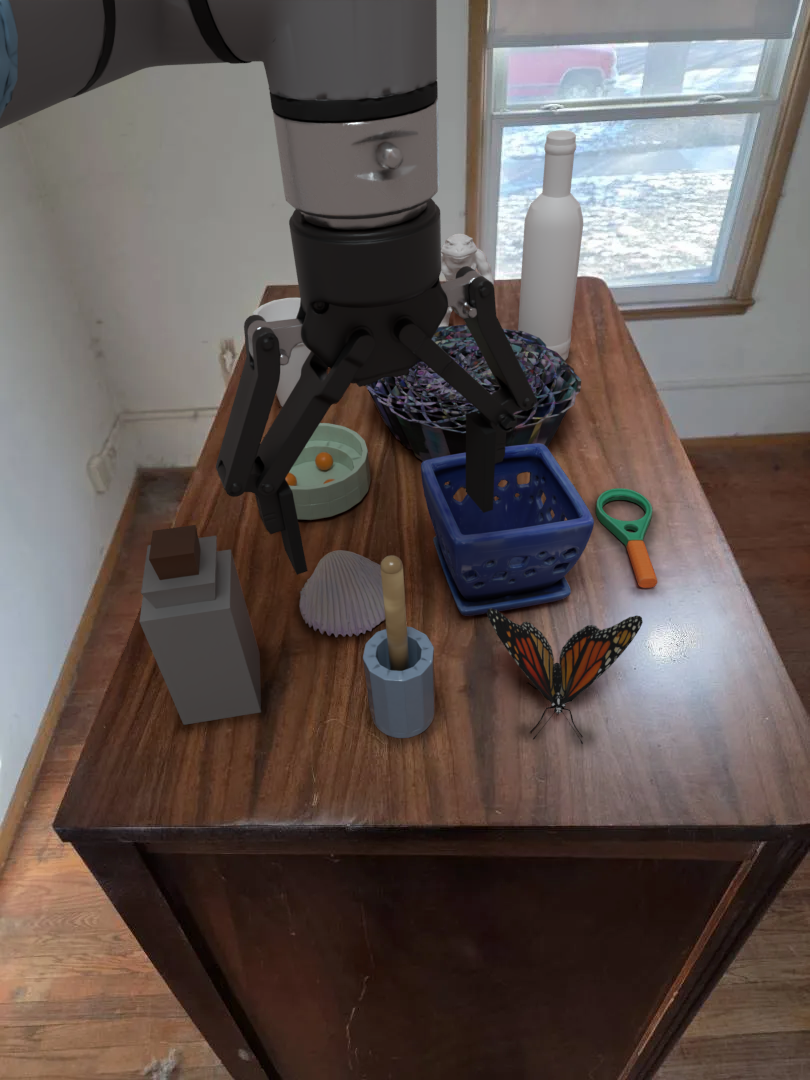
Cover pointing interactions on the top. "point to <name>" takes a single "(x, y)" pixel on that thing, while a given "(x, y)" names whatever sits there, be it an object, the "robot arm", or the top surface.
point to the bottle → (552, 250)
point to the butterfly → (564, 656)
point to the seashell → (343, 595)
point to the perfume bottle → (199, 626)
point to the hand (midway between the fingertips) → (390, 529)
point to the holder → (400, 685)
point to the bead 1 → (291, 479)
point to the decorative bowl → (440, 411)
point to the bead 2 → (324, 461)
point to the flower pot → (507, 531)
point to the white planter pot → (300, 352)
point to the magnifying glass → (630, 540)
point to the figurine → (462, 261)
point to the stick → (395, 612)
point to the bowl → (331, 473)
